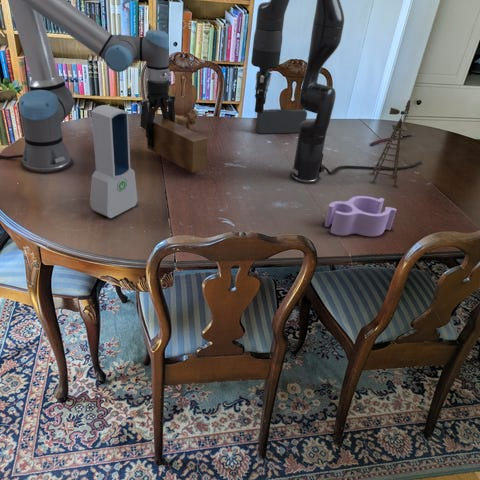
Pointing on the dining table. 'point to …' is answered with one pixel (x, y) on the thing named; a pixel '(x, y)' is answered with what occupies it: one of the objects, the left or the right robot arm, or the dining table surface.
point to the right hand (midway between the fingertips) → (260, 107)
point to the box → (179, 144)
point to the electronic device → (112, 163)
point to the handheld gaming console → (280, 120)
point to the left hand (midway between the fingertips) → (158, 144)
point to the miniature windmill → (399, 125)
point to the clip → (359, 216)
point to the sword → (386, 139)
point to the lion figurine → (187, 119)
